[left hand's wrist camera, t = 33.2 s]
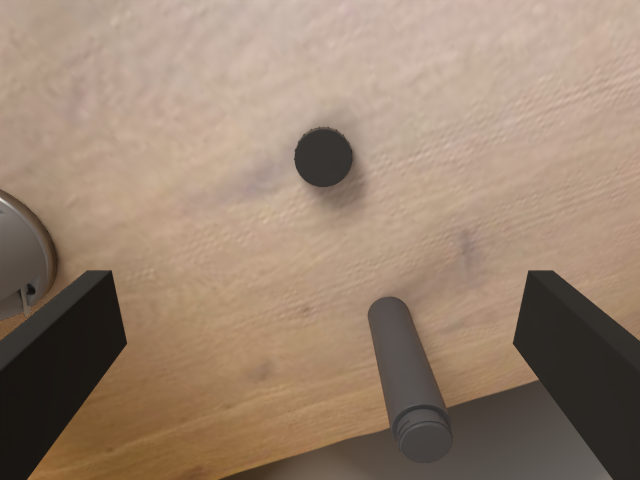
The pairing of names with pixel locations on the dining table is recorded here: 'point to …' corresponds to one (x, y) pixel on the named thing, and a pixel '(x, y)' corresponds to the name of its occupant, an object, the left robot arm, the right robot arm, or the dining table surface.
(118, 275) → the dining table surface
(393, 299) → the grey capped tube
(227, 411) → the dining table surface
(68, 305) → the left robot arm
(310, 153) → the lid
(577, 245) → the dining table surface
